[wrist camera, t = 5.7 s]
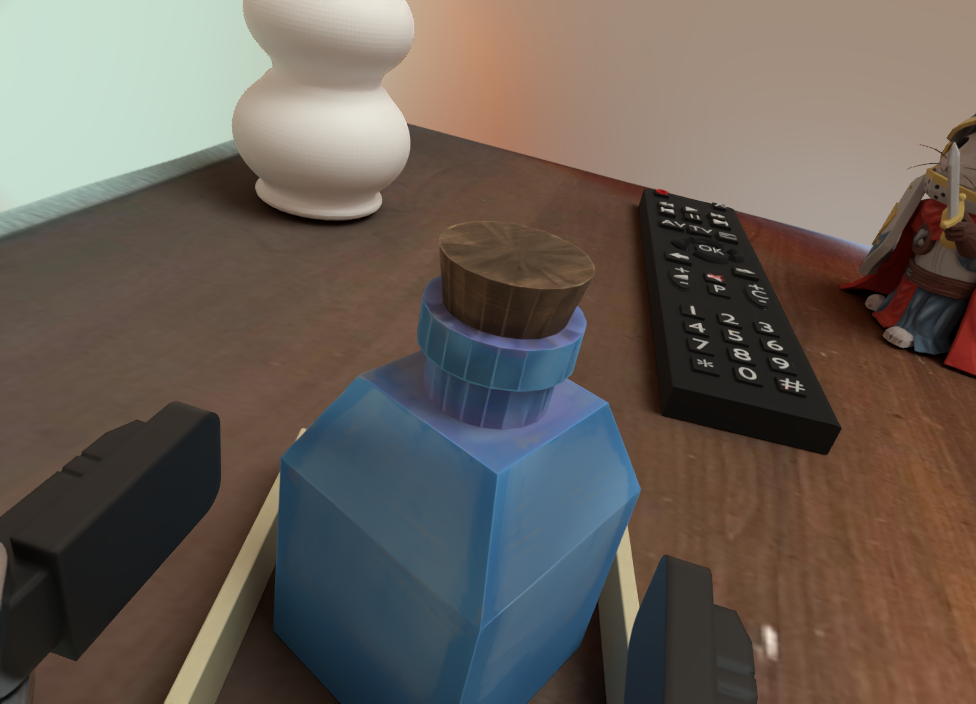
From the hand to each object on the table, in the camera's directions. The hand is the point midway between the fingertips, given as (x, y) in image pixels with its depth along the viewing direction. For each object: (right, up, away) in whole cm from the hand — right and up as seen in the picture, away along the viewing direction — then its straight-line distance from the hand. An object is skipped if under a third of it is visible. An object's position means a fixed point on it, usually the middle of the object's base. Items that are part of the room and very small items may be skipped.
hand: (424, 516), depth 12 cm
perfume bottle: (-1, -5, +8) cm, 10 cm away
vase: (-10, +13, +35) cm, 38 cm away
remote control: (+15, +7, +34) cm, 38 cm away
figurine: (+29, +4, +35) cm, 46 cm away
